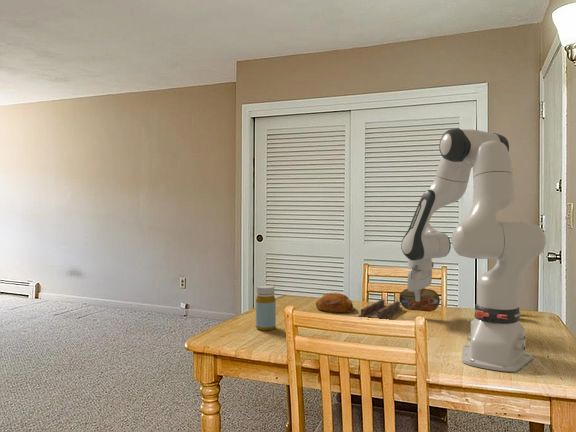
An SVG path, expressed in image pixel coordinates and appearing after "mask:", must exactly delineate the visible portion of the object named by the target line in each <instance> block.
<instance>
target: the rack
mask: <svg viewBox="0 0 576 432" xmlns="http://www.w3.org/2000/svg"><path fill="white" fill-rule="evenodd" d="M402 311H403V307H401V303H400V300H399V301H398V300H397V301H394V302H392V303H391V304H389V305H385V299H379V300H377V301H375V302H373V303H371V304H369V305H368V306H365V307H363V308H361V309H360V314H358V316H357V317H368V318H379V319H386V320H388V319H390V318H391V317H393V316H395V315H397V314H398V313H400V312H402Z"/></svg>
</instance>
